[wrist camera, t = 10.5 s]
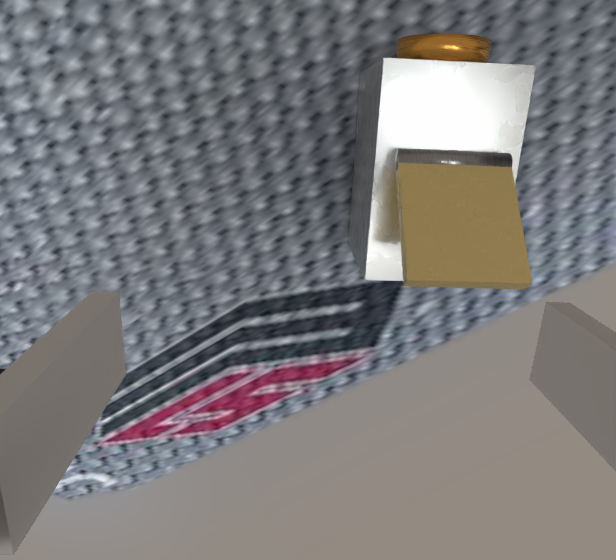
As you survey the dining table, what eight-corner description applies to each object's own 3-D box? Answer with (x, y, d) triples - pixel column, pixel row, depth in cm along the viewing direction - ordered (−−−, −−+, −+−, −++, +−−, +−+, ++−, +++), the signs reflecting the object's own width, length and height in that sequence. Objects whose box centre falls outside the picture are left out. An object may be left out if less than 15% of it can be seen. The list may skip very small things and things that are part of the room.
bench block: (475, 78, 33) (535, 65, 25) (451, 247, 37) (497, 283, 29) (360, 72, 33) (383, 57, 25) (347, 244, 36) (365, 279, 28)
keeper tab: (500, 161, 27) (510, 148, 25) (522, 290, 24) (534, 282, 23) (393, 157, 26) (398, 143, 25) (402, 287, 23) (408, 278, 22)
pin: (471, 50, 30) (506, 36, 25) (445, 238, 34) (472, 259, 29) (389, 45, 30) (409, 31, 25) (372, 236, 34) (387, 256, 29)
